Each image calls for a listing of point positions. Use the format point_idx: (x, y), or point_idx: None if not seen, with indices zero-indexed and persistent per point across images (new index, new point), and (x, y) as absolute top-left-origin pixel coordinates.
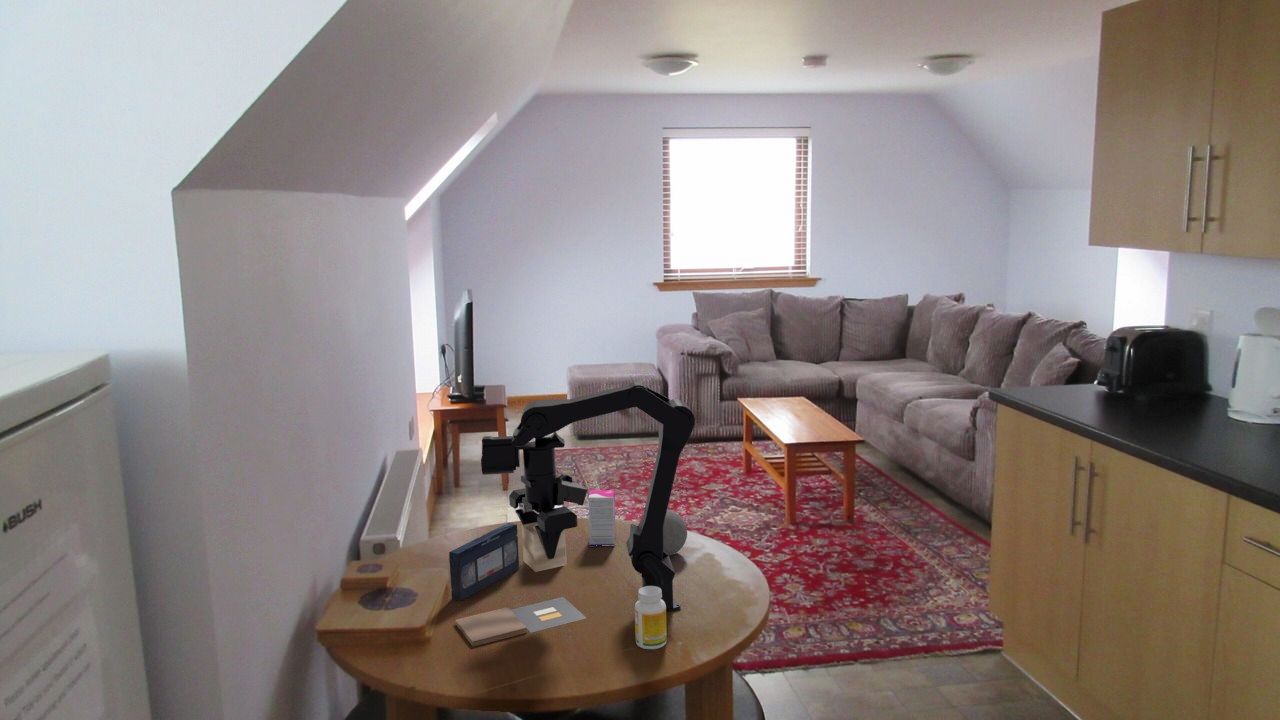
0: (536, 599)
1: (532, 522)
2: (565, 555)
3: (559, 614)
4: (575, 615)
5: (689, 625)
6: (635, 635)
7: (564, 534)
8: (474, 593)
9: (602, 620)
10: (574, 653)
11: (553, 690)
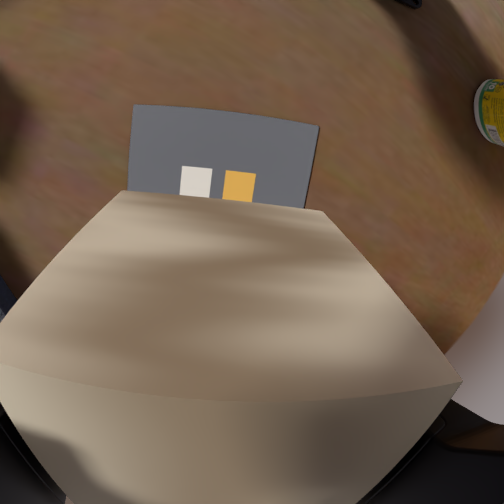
0: (99, 180)
1: (39, 476)
2: (342, 236)
3: (242, 175)
4: (280, 141)
5: (481, 5)
6: (493, 138)
7: (422, 332)
8: (10, 293)
9: (355, 100)
10: (425, 253)
11: (462, 329)
